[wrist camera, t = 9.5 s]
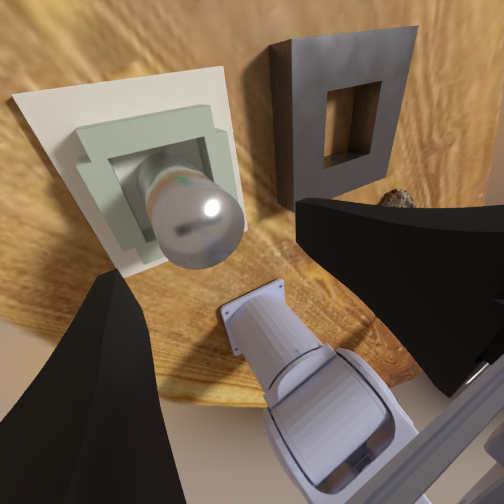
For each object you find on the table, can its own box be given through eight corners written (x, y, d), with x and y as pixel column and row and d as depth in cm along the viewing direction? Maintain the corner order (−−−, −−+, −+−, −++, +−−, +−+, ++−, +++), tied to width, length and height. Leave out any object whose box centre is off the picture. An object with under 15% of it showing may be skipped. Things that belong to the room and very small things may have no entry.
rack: (245, 227, 22) (258, 239, 21) (122, 275, 19) (124, 294, 17) (219, 66, 15) (236, 62, 13) (13, 94, 12) (-2, 94, 10)
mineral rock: (426, 229, 36) (403, 270, 34) (395, 223, 39) (372, 261, 37) (427, 170, 29) (398, 216, 27) (389, 169, 33) (361, 211, 30)
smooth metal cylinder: (201, 200, 18) (249, 251, 13) (149, 217, 17) (175, 281, 11) (187, 145, 16) (237, 176, 10) (125, 160, 15) (141, 204, 9)
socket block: (365, 171, 27) (385, 177, 25) (278, 203, 23) (294, 212, 21) (388, 31, 20) (418, 25, 18) (269, 45, 16) (291, 38, 14)
